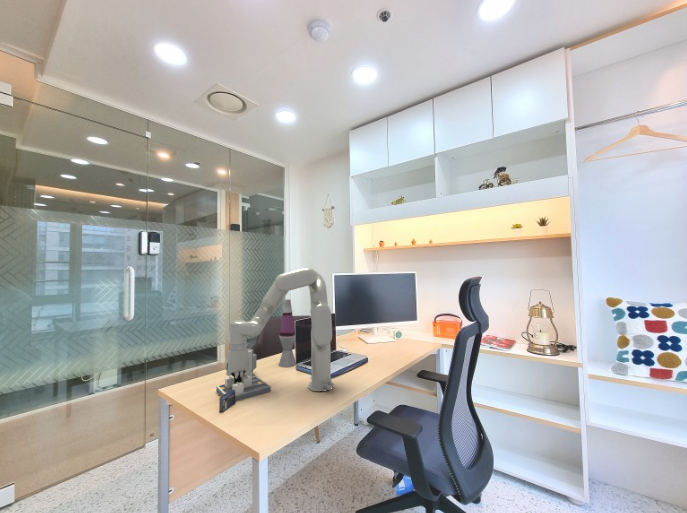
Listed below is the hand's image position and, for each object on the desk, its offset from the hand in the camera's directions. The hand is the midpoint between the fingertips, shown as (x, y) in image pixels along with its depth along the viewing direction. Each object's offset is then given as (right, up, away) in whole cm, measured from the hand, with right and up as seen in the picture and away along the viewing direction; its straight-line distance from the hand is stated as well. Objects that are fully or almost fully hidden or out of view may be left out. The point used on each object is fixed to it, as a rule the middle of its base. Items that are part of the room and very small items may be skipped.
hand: (237, 385), depth 136 cm
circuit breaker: (-3, -5, +19) cm, 20 cm away
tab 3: (+3, -2, +3) cm, 4 cm away
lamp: (+16, -6, +41) cm, 44 cm away
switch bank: (+2, -4, +2) cm, 4 cm away
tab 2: (+2, -1, -5) cm, 6 cm away
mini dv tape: (+1, -3, -15) cm, 15 cm away
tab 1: (-5, -2, +3) cm, 6 cm away
